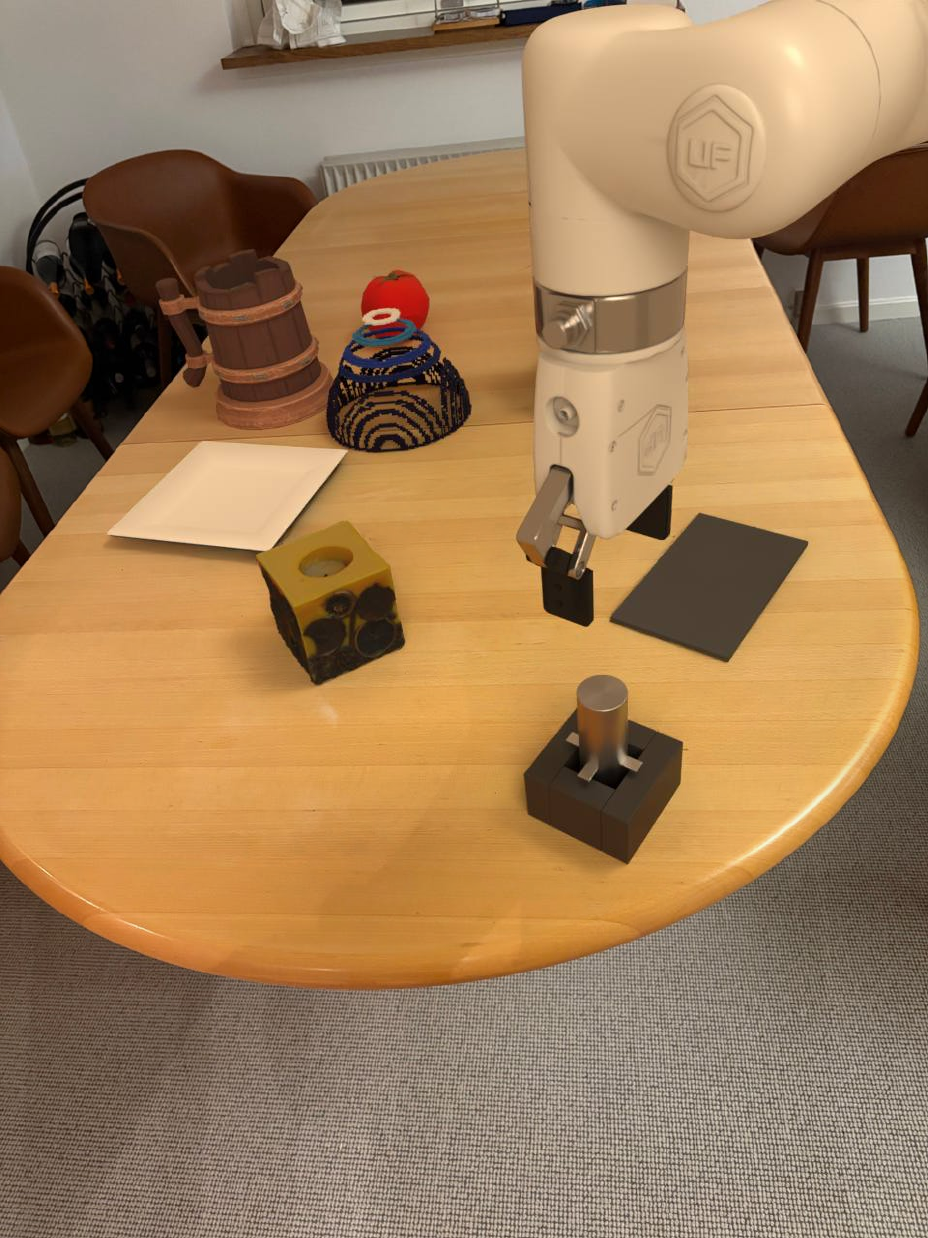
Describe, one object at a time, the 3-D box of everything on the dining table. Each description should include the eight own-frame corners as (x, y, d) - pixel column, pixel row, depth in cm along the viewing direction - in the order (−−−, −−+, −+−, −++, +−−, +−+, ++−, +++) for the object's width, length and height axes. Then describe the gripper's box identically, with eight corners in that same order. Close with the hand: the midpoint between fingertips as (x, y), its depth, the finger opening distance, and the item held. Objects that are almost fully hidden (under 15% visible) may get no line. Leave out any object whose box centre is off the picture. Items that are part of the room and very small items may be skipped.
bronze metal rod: (656, 788, 70) (660, 680, 62) (620, 843, 66) (619, 735, 59) (590, 759, 73) (586, 652, 65) (552, 809, 69) (543, 703, 62)
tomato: (355, 351, 143) (342, 288, 136) (382, 320, 152) (371, 259, 145) (419, 352, 139) (409, 288, 133) (443, 320, 148) (435, 258, 142)
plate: (110, 546, 106) (104, 532, 105) (205, 452, 122) (201, 439, 121) (273, 564, 100) (268, 549, 98) (351, 462, 115) (348, 448, 114)
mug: (214, 377, 142) (173, 249, 129) (350, 368, 138) (321, 236, 125) (171, 433, 128) (120, 297, 115) (321, 426, 124) (286, 284, 111)
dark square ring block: (680, 783, 70) (683, 741, 67) (627, 865, 65) (628, 824, 62) (584, 741, 74) (582, 700, 71) (527, 814, 69) (522, 773, 66)
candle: (277, 633, 90) (250, 554, 84) (365, 594, 93) (346, 516, 87) (314, 690, 83) (288, 608, 77) (409, 646, 86) (391, 565, 80)
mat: (807, 545, 91) (808, 540, 90) (728, 662, 79) (728, 657, 79) (698, 516, 97) (699, 512, 97) (609, 621, 85) (609, 616, 85)
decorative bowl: (474, 378, 130) (463, 280, 121) (466, 445, 115) (452, 339, 106) (343, 388, 133) (322, 293, 123) (318, 456, 117) (292, 353, 108)
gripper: (585, 392, 38) (591, 678, 49) (750, 255, 47) (724, 519, 58) (446, 362, 41) (481, 633, 52) (626, 241, 51) (623, 491, 62)
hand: (609, 573), depth 55 cm, fingers open, 9 cm apart
